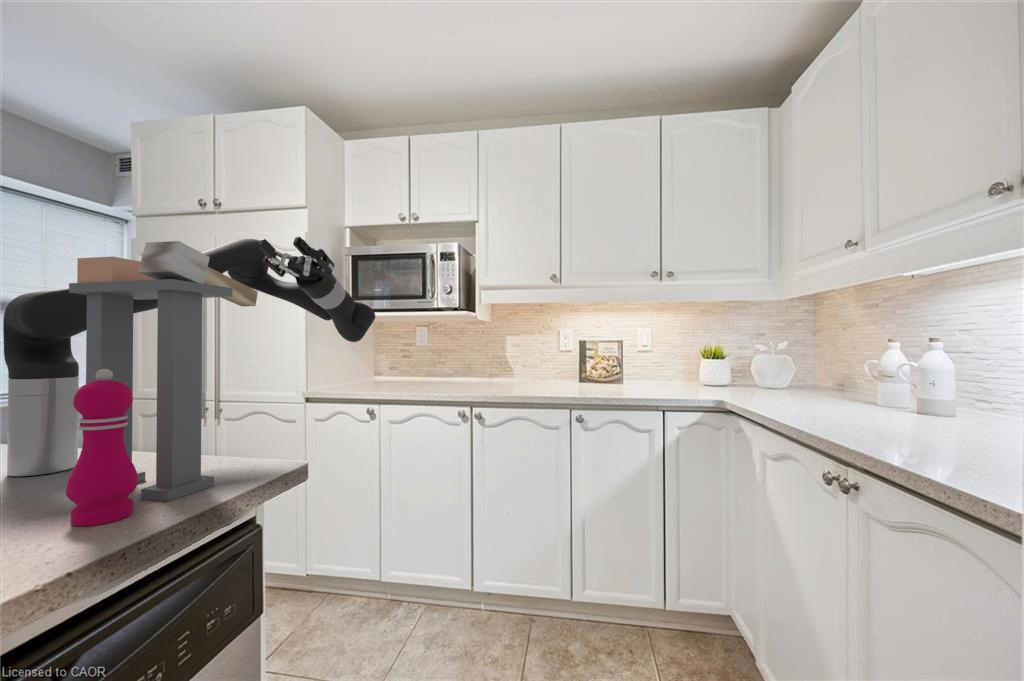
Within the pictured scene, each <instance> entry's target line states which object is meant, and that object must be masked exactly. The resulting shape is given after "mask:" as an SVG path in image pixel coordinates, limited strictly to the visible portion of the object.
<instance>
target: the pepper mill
mask: <svg viewBox="0 0 1024 681" xmlns="http://www.w3.org/2000/svg"><path fill="white" fill-rule="evenodd" d="M112 377H113V373H112V371H110V370H109V369H100V370H99V371H97V372H96V379H97V380H99V381H94V382H90V383H88V384H86V383H85V384H83V385H82V386H81V387H79V389H78V391H77V392H76V394H75V396H74V400H73V404H74V408H75V409H76V411H78V414H79V415H81V417H82V418H78V430H80V431H82V447H81V451H80V454H79V456H78V461H77V463H76V465H75V467H74V468H72V471H71V472H70V474H69V476H68V479H67V482H66V488H65V495H66V497H67V499H68V500H69V501H70V502H72V503H73V504H74V505H75V507H73V508H71V510H70V524H71V525H72V526H74V527H83V528H84V527H94V526H95V527H96V526H100V525H106V524H110V523H114V522H117V521H120V520H123V519H126V518H128V517H130V516H131V515H132V514H133V513H134V500H133V498H130V497H129V496H130V495H131V494H132V493H133V492H134V490H135V489H136V488H137V486H138V483H139V482H138V477H137V472H136V471H137V469H136V466H135V464H134V463H133V460H132V461H131V459H130V458H129V456H128V454H127V451H126V448H125V445H124V436H123V435H124V426H126V425H128V422H127V418H128V416H127V415H124V414H125V412H126V411H127V409H128V408H129V407H130V406H131V405H132V406H133V402H134V395H132V392H131V389H130V388H129V387H128V386H127V385H125V384H124V383H121V382H118V381H113V380H111V379H112Z"/></svg>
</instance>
